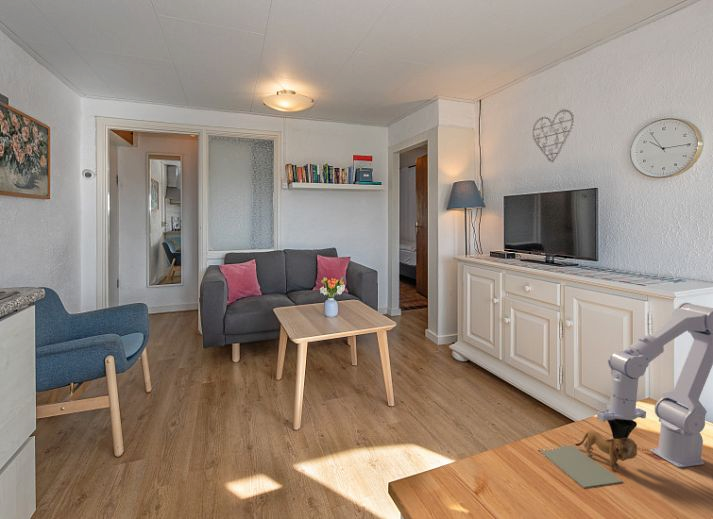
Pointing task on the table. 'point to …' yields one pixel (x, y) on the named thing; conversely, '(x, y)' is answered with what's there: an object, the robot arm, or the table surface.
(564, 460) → the mat
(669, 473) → the table surface
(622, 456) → the lion figurine
